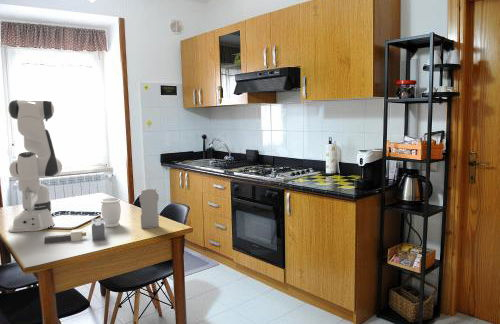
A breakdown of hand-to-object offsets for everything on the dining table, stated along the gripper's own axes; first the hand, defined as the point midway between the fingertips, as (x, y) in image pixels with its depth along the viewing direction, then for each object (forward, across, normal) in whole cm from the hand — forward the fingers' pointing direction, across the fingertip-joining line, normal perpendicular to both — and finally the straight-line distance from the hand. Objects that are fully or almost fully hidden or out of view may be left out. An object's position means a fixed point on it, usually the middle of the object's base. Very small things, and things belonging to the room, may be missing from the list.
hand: (31, 214), depth 190 cm
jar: (+15, +20, -37) cm, 45 cm away
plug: (+15, 0, -15) cm, 21 cm away
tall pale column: (+15, +8, -57) cm, 60 cm away
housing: (+15, 0, -30) cm, 34 cm away
